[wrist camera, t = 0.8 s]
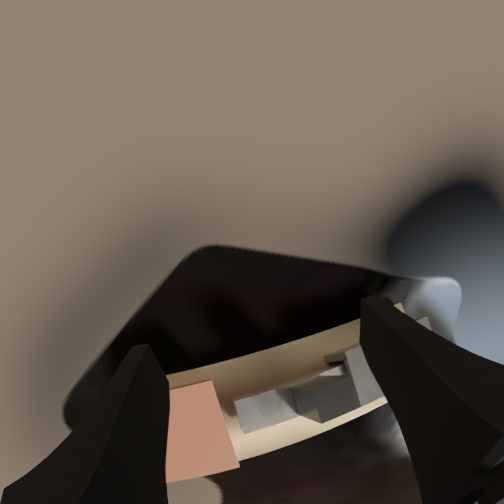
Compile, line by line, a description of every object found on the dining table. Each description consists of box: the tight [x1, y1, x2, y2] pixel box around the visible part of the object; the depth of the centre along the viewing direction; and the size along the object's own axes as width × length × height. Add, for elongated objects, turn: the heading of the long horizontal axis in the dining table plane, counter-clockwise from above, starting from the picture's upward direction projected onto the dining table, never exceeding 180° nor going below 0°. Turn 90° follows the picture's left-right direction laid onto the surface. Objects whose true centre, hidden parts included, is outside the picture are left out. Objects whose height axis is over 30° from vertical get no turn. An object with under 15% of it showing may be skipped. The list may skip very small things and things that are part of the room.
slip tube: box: [231, 361, 361, 434], centre depth 20 cm, size 2×15×7 cm, turn 106°
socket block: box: [166, 379, 240, 483], centre depth 19 cm, size 6×5×5 cm
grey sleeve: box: [323, 316, 432, 407], centre depth 23 cm, size 4×8×4 cm, turn 106°
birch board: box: [166, 303, 404, 461], centre depth 24 cm, size 8×23×1 cm, turn 106°
